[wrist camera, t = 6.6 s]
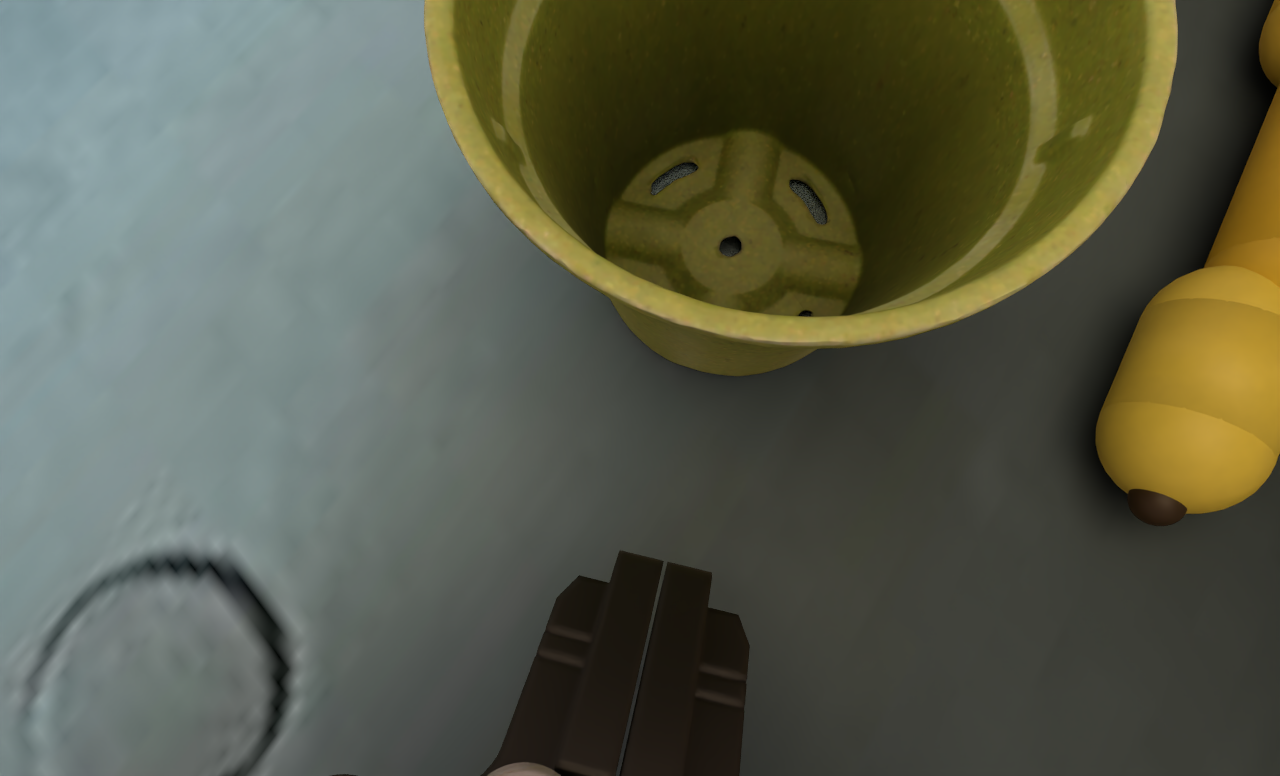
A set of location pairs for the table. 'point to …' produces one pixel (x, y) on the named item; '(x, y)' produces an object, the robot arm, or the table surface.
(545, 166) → the plant pot
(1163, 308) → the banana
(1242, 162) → the table surface
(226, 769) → the table surface
